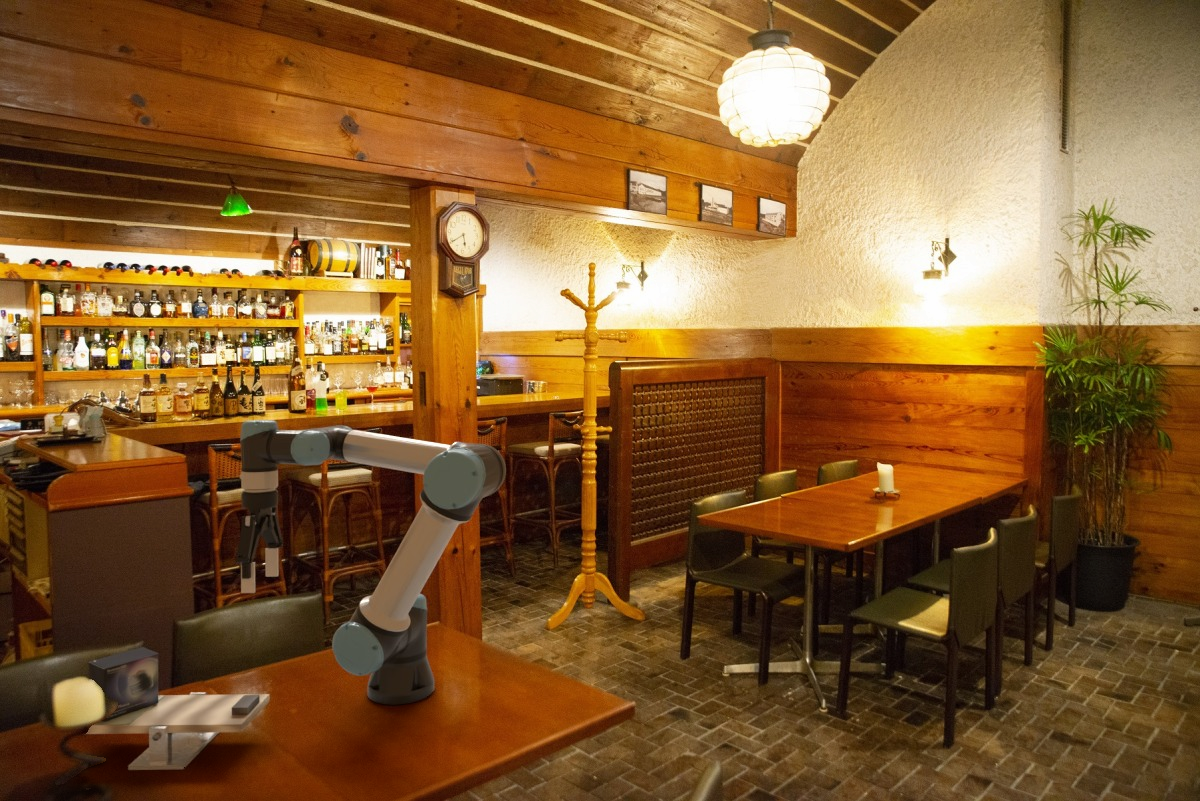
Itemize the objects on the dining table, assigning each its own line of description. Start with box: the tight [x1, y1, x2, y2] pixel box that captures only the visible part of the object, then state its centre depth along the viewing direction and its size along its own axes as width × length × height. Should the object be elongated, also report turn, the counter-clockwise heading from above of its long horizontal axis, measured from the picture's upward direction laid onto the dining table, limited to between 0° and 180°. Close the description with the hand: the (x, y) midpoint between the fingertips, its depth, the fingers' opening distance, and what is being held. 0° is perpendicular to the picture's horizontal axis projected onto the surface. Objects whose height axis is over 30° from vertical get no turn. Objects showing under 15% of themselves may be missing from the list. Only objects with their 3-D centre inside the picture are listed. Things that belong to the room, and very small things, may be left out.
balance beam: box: [85, 693, 271, 735], centre depth 156 cm, size 30×14×3 cm, turn 92°
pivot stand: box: [127, 691, 220, 771], centre depth 156 cm, size 10×18×8 cm, turn 2°
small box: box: [87, 646, 159, 721], centre depth 156 cm, size 11×6×10 cm, turn 148°
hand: (260, 584), depth 177 cm, fingers open, 13 cm apart
